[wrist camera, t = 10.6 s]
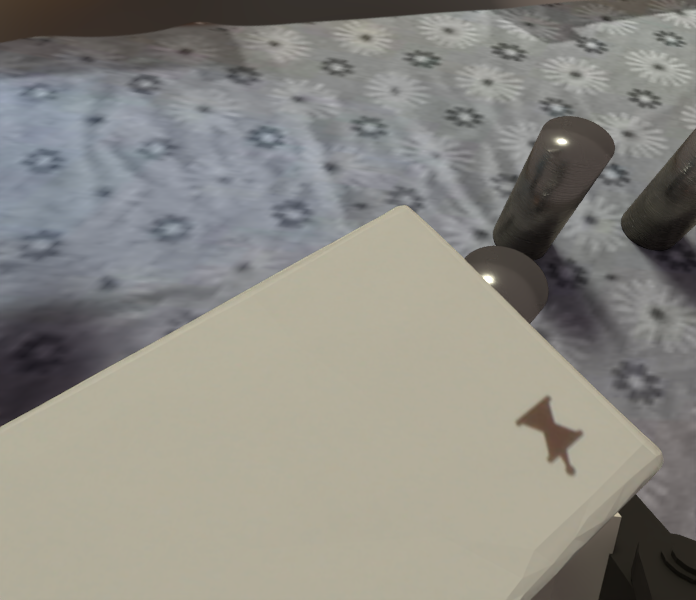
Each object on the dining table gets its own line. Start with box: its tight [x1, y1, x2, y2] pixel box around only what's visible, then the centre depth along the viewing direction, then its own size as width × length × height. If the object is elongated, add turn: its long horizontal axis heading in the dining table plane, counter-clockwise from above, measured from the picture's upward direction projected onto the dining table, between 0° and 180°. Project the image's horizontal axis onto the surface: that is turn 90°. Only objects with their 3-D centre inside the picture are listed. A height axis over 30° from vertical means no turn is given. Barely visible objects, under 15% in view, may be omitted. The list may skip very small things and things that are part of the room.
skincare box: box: [0, 205, 663, 600], centre depth 9 cm, size 6×4×12 cm
